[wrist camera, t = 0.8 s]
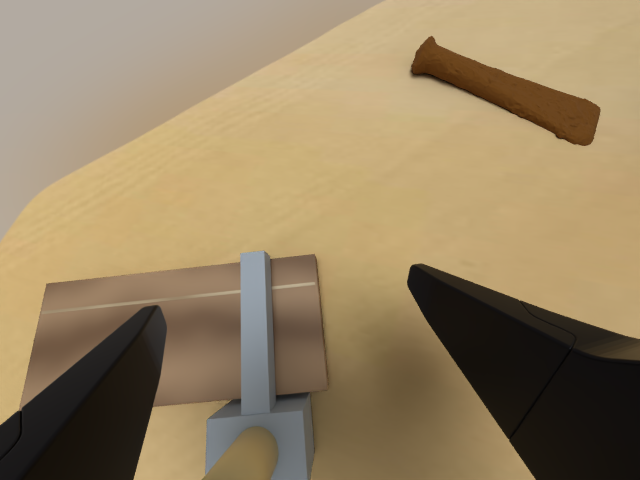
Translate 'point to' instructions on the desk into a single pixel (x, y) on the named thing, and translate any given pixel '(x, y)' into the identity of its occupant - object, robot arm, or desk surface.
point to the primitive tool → (512, 93)
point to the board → (187, 328)
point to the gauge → (259, 400)
